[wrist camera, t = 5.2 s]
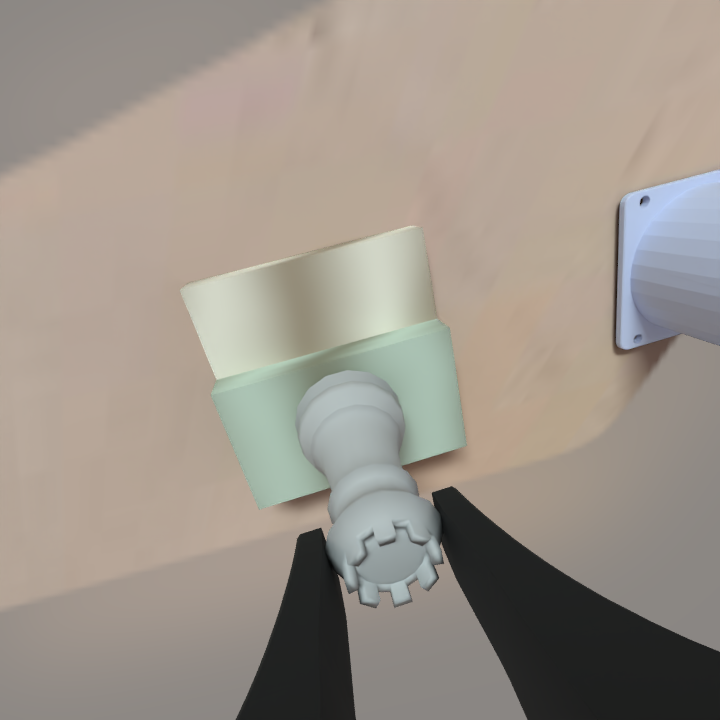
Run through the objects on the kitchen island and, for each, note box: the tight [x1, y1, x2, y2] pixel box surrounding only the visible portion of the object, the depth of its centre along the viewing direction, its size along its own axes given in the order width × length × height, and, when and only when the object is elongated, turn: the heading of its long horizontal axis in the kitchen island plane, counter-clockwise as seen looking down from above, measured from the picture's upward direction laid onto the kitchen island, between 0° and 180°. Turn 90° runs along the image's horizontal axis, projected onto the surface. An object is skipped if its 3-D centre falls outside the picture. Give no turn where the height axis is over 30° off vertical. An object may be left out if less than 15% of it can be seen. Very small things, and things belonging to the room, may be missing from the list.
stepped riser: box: [180, 226, 467, 509], centre depth 18 cm, size 10×10×3 cm
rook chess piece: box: [295, 370, 444, 608], centre depth 14 cm, size 4×4×8 cm
